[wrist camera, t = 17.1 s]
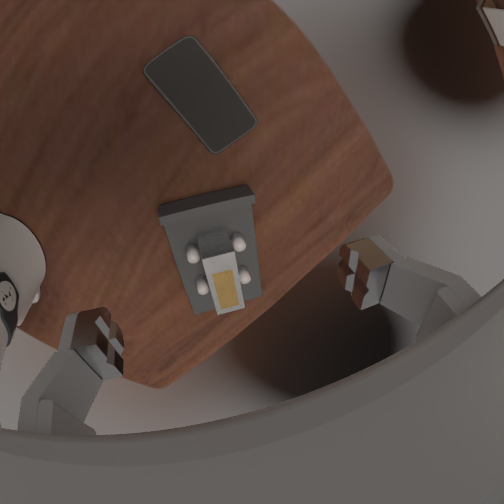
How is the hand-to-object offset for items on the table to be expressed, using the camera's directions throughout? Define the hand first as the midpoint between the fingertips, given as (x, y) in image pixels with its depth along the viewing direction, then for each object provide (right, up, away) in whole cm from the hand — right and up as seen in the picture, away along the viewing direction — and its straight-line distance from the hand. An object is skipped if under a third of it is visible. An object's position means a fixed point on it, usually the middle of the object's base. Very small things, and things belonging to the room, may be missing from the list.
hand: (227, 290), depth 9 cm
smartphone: (-5, +20, +19) cm, 28 cm away
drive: (-4, 0, +31) cm, 31 cm away
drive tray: (-5, +1, +32) cm, 33 cm away
